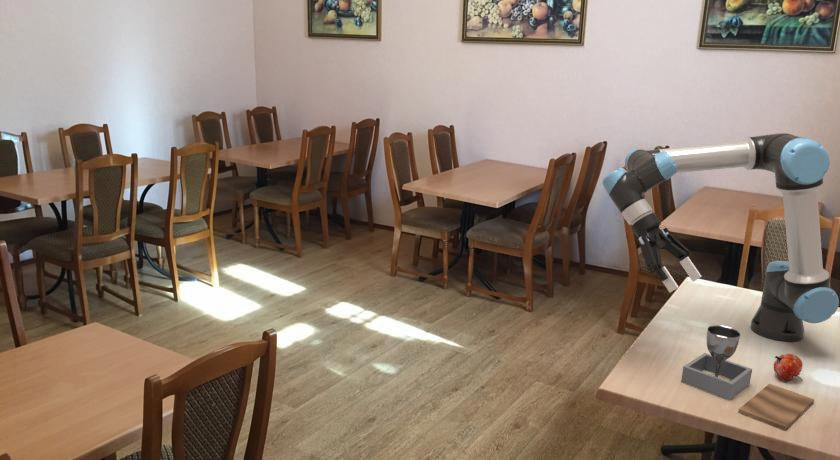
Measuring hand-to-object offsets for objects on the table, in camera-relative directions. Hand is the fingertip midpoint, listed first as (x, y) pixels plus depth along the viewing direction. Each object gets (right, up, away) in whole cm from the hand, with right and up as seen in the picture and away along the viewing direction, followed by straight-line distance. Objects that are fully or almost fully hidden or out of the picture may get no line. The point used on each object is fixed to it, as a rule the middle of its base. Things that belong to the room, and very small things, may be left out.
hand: (686, 284), depth 189 cm
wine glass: (+7, -26, -1) cm, 27 cm away
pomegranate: (+29, -26, +3) cm, 39 cm away
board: (+18, -30, -13) cm, 37 cm away
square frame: (+7, -26, -1) cm, 27 cm away
